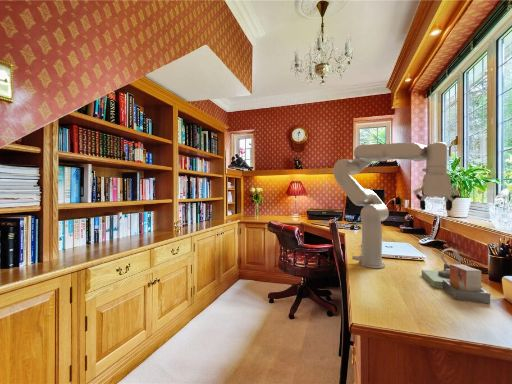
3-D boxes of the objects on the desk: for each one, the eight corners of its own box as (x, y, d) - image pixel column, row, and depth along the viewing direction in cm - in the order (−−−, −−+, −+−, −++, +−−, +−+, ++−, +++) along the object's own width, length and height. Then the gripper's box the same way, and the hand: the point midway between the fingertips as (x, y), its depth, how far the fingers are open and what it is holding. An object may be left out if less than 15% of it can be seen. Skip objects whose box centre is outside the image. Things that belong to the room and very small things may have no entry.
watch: (462, 275, 122) (463, 251, 121) (441, 272, 125) (442, 249, 125) (459, 271, 127) (460, 248, 127) (439, 269, 130) (439, 247, 130)
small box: (448, 291, 101) (449, 264, 101) (463, 291, 101) (463, 264, 101) (465, 299, 93) (466, 270, 93) (481, 300, 93) (481, 270, 93)
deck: (433, 287, 105) (434, 273, 105) (421, 275, 121) (421, 263, 121) (482, 292, 101) (482, 277, 101) (462, 278, 116) (463, 266, 116)
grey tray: (455, 300, 93) (455, 290, 93) (442, 288, 104) (442, 279, 104) (490, 303, 90) (490, 293, 90) (472, 291, 102) (472, 282, 102)
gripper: (416, 170, 114) (415, 210, 114) (463, 170, 109) (462, 211, 109) (411, 171, 122) (411, 208, 122) (455, 171, 116) (455, 210, 117)
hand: (435, 210), depth 116 cm, fingers open, 9 cm apart
